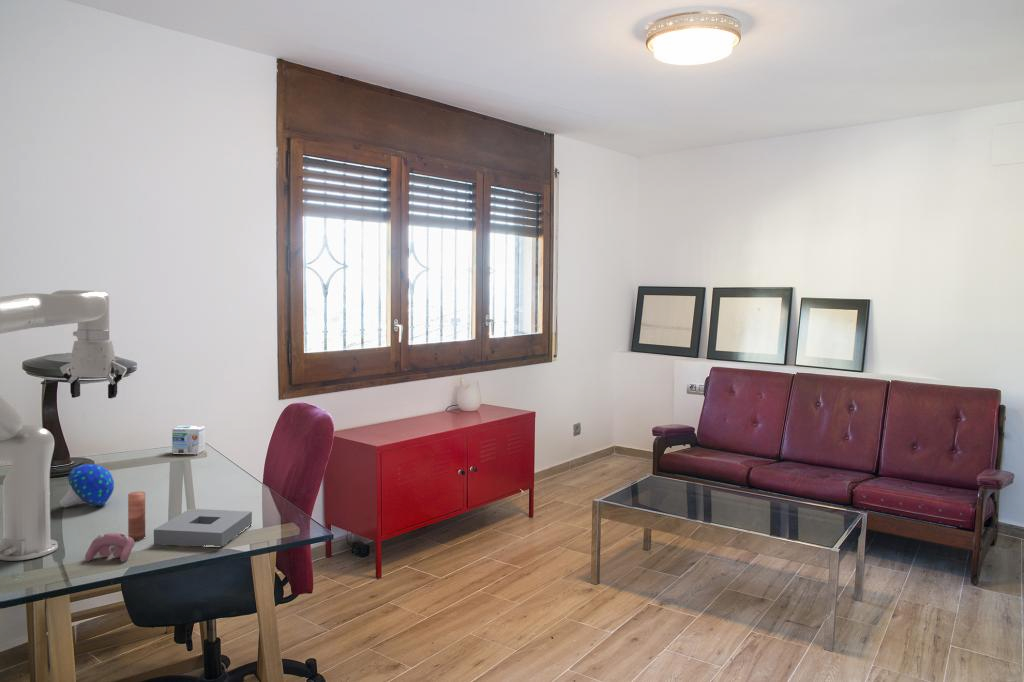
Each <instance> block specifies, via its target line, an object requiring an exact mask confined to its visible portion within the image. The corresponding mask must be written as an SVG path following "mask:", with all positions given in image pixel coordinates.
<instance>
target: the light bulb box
mask: <svg viewBox="0 0 1024 682" xmlns="http://www.w3.org/2000/svg"><path fill="white" fill-rule="evenodd" d="M205 429H206V426H204V425H177V426H176V427H173V428H172V436H171V437H172V439H171V440H172V441H171V443H172V444H171V450H172V451H171V454H172V453H199V452H201V451H203V450H204V449H205V448H206V447H205V446H206V445H205V440H206V432H205V431H206V430H205Z"/></svg>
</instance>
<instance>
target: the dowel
mask: <svg viewBox="0 0 1024 682" xmlns="http://www.w3.org/2000/svg"><path fill="white" fill-rule="evenodd" d="M127 504H128V505H127V508H128V509H127V518H128V519H127V523H128V524H127V525H128V526H127V531H128V532H127V536H129V537H131V538H132V539H133V540H137V541H140V540H139V539H142V538H144V537H145V538H146V492H145V491H132V492H129V493H128V494H127ZM145 538H144V539H145ZM142 540H143V539H142Z"/></svg>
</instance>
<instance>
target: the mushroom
mask: <svg viewBox="0 0 1024 682" xmlns="http://www.w3.org/2000/svg"><path fill="white" fill-rule="evenodd" d="M67 479H68V483H69V485H70V487H69V489H68V491H67V492H66V494H65V495H64V496H63V497H62V498H61V500H59V504H60V505H61V506H62V507H63V508H65V507H66V508H68V507H71V506H75V505H77V504H81V503H86V505H88V506H90V507H95V508H97V506H98V507H102V506H103V505H105V504H106V503H107V502H108V500H109V499H110V498H111V496H112V495H113V492H114V489H115V482H114V479H113V475H112V473H111V472H110V471H109V470H108V469H107V468H105V467H104V466H101V465H99V464H95V463H94V464H93V463H85V464H84V463H83V464H80V465H77V466H76V467H73V469H71V470H70V471H69V474H68V476H67Z"/></svg>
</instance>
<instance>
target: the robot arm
mask: <svg viewBox="0 0 1024 682" xmlns="http://www.w3.org/2000/svg"><path fill="white" fill-rule="evenodd" d="M69 324H71V325H72V324H77V330H75V331H73V332H72V335H73V337H76V339H77V340H74V342H73V345H72V351H71V355H70V356H71V357H70V362H68V363H65V364H64V365H62V366H60V367H59V370H60V371H61V373H62V374H63V378H65V379H66V381H68V383H69V384H70V395H71V398H74V399H75V398H79V397H81V382H80V381H79V380H81V378H95V379H96V378H98V379H99V378H105V379H106V380H107V381H108V382H109V384H107V398H108V399H114V398H116V397H117V395H118V383H120V382H121V380H123V378H124V377H125V374H126V373H127V371H128V368H127V366H124V365H122V364H120V363H118V362H116V355H115V351H114V345H113V341H112V340H110V296H109V294H108V293H107V292H104V291H96V290H79V289H78V290H75V289H60V290H56V291H54V292H52V293H20V294H14V295H13V294H12V295H6V296H5V295H4V296H0V334H1V335H2V334H6V333H12V332H18V331H23V330H30V329H36V328H46V327H47V328H48V327H55V326H61V325H69ZM69 369H70V370H69ZM116 370H117V371H118V374H117V375H115V374H116ZM54 449H55V438H54V435H53V433H51V431H49V430H48V429H46V428H44V427H42V426H37V425H30V424H28V425H27V424H24V423H23V417H22V415H21V413H19V411H18V410H17V409H16V408H15V407H14V406H13V405H11V403H9V402H8V401H7V400H6V399H4V397H2V396H1V395H0V464H8V465H11V466H10V468H9V469H8V472H7V473H6V475H5V477H4V479H3V482H2V524H3V525H2V526H3V529H2V533H3V539H1V540H0V561H1V560H2V561H9V562H10V561H11V562H12V561H14V562H15V561H17V562H18V561H25V560H31V559H36V558H40V557H43V556H47V555H49V554H51V553H53V552H56V550H57V549H58V547H59V545H58V544H59V542H58V541H57V540H55V539H51V484H50V483H51V465H52V460H53V454H54Z"/></svg>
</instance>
